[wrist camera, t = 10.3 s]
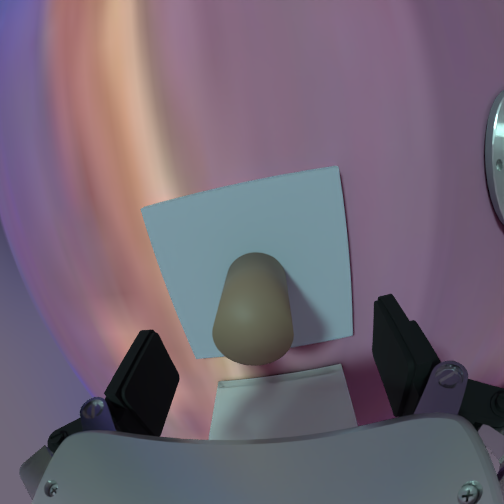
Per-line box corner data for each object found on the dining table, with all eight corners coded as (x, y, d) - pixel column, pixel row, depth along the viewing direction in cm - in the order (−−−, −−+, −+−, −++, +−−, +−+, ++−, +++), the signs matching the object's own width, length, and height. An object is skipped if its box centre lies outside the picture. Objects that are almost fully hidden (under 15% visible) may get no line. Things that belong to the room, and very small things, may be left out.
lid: (334, 165, 15) (375, 180, 9) (349, 327, 19) (373, 392, 13) (146, 205, 17) (91, 240, 11) (198, 350, 21) (180, 415, 15)
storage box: (340, 363, 20) (366, 460, 12) (340, 425, 24) (354, 498, 15) (218, 381, 21) (202, 476, 13) (246, 438, 25) (241, 510, 17)
